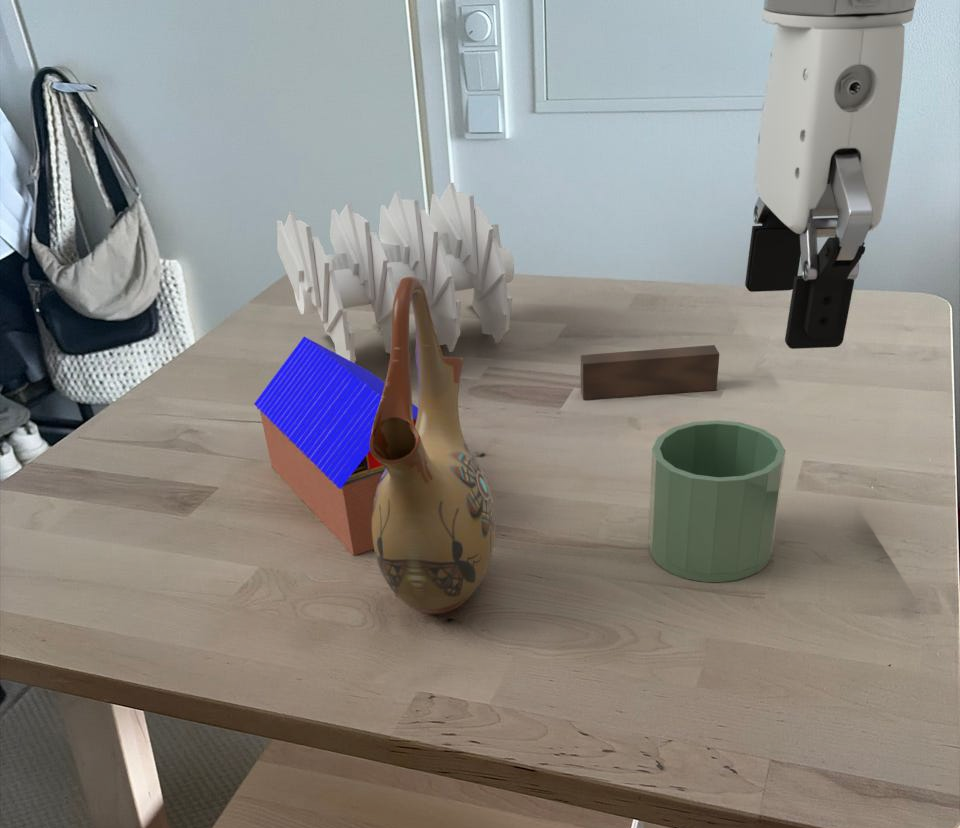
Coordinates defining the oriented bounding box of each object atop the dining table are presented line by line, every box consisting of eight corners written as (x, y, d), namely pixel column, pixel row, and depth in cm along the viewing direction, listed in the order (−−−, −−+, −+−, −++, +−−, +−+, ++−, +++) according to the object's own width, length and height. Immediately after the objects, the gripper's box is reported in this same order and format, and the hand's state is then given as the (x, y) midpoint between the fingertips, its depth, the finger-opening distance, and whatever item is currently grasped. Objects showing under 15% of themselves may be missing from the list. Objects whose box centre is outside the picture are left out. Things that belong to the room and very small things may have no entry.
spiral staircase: (522, 375, 124) (321, 413, 116) (469, 274, 131) (277, 303, 123) (556, 251, 108) (326, 285, 100) (493, 144, 115) (274, 168, 107)
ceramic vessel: (477, 664, 74) (447, 326, 59) (357, 656, 76) (298, 325, 61) (515, 542, 87) (499, 237, 71) (412, 537, 88) (374, 238, 73)
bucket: (755, 513, 88) (766, 416, 82) (785, 577, 80) (800, 475, 75) (640, 521, 88) (643, 425, 83) (660, 586, 80) (665, 485, 75)
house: (351, 558, 86) (330, 431, 79) (267, 467, 100) (242, 352, 93) (475, 515, 91) (465, 391, 84) (377, 433, 105) (362, 321, 98)
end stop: (711, 380, 110) (714, 344, 107) (716, 390, 108) (719, 353, 105) (580, 390, 110) (580, 354, 107) (583, 400, 108) (583, 363, 105)
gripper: (984, 3, 46) (901, 369, 56) (859, -30, 60) (810, 269, 70) (816, 9, 46) (764, 374, 56) (730, -25, 60) (700, 273, 70)
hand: (790, 316), depth 63 cm, fingers open, 9 cm apart
